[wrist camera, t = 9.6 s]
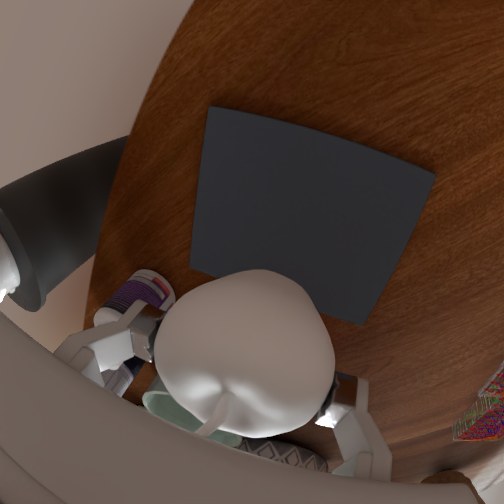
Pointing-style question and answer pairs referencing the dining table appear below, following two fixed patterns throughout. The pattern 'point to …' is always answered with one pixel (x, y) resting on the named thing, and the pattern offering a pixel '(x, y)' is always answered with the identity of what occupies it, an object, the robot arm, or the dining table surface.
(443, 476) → the bowl
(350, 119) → the dining table surface
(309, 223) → the mat
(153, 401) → the fruit bowl
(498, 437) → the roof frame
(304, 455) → the planter
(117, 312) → the pill bottle
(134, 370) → the beverage can
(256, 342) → the plain white apple
